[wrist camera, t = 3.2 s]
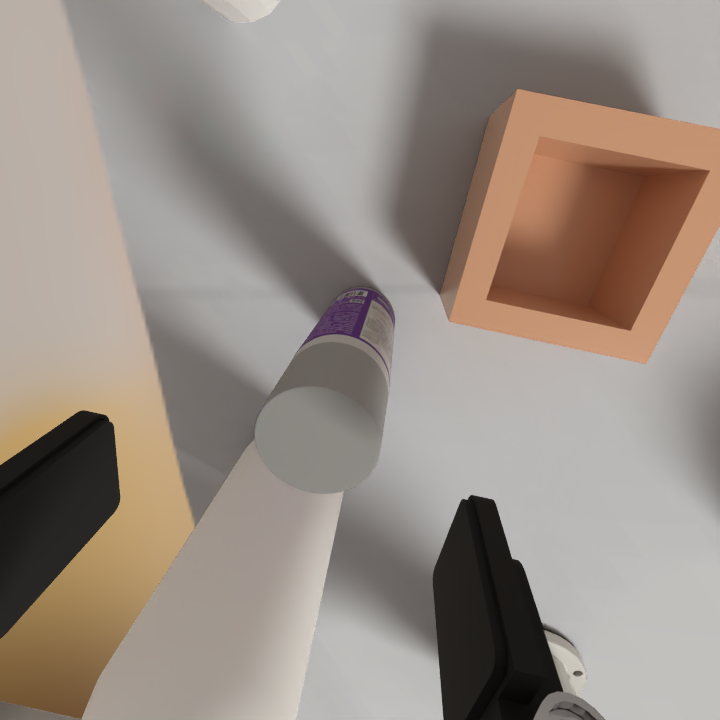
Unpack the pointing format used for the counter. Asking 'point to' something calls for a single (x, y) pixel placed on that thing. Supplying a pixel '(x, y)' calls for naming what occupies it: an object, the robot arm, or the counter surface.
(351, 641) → the counter surface
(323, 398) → the container
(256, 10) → the white cup
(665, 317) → the tan open box
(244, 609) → the alcohol
